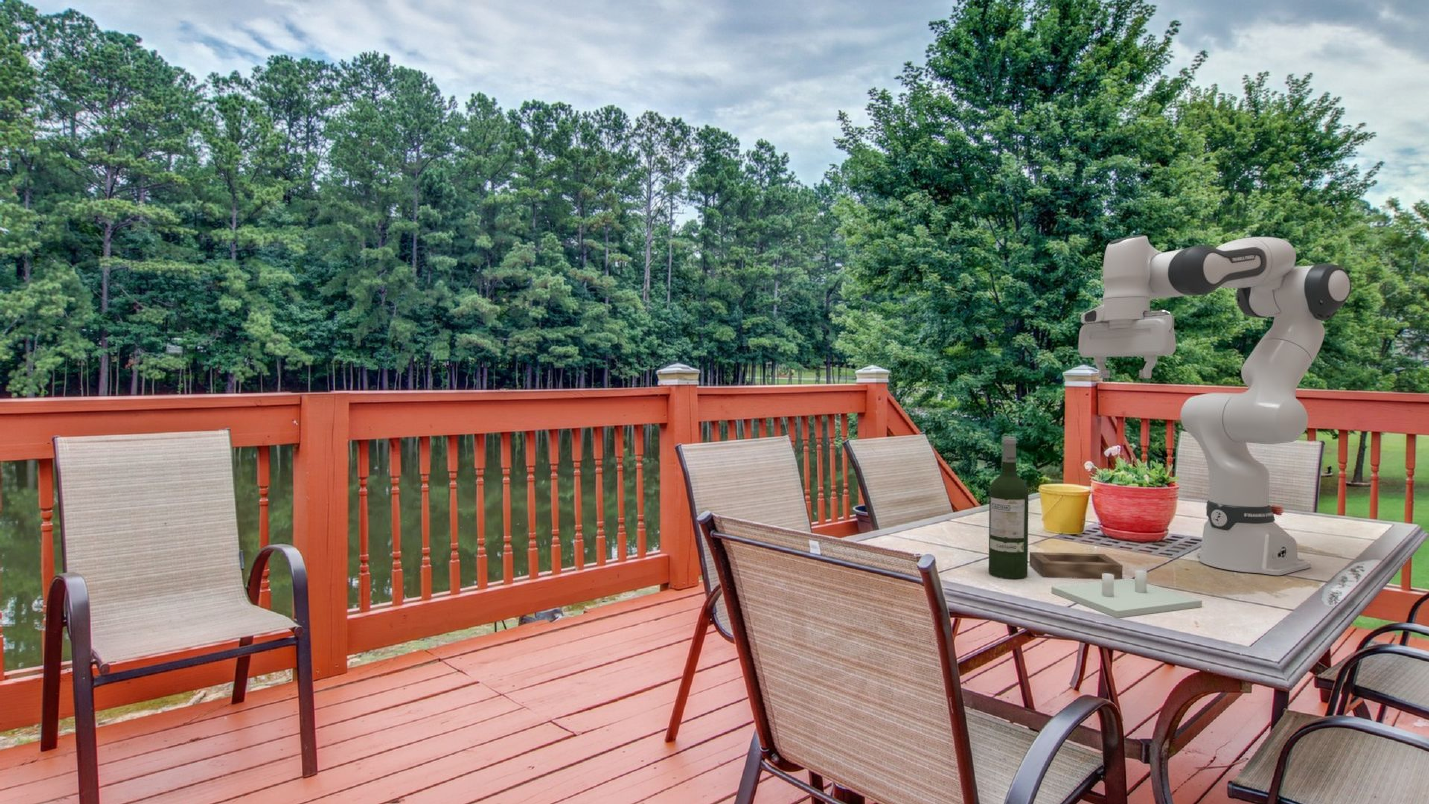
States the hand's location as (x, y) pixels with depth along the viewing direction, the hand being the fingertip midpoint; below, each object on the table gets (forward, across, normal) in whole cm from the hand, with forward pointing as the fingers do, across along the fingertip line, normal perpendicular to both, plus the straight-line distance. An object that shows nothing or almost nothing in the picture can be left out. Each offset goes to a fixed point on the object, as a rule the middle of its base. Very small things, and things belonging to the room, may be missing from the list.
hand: (1124, 378), depth 157 cm
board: (+43, -11, +14) cm, 46 cm away
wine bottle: (+43, +12, +20) cm, 49 cm away
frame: (+43, +7, +5) cm, 43 cm away
